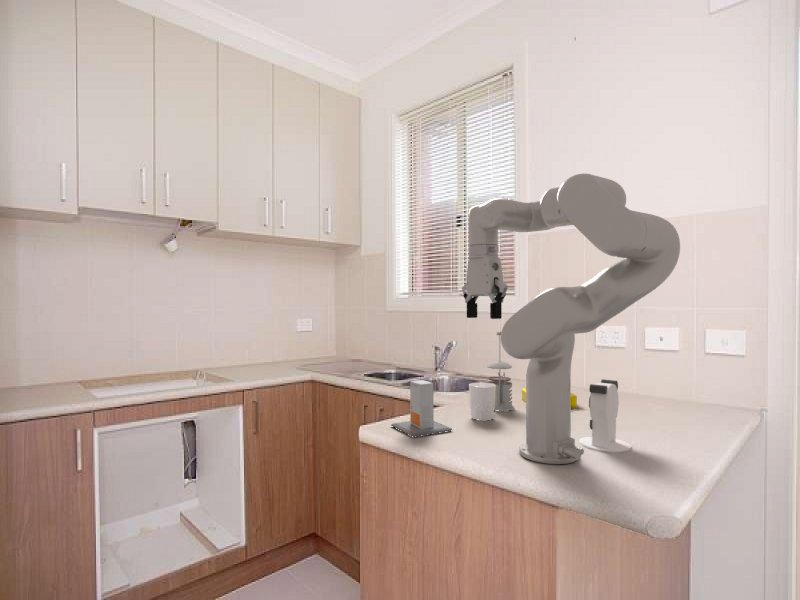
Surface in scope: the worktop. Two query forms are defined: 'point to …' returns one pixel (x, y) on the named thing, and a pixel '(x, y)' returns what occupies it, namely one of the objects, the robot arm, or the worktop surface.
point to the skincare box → (421, 404)
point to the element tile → (572, 398)
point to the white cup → (482, 400)
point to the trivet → (417, 431)
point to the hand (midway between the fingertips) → (483, 318)
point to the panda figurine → (604, 418)
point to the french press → (501, 385)
